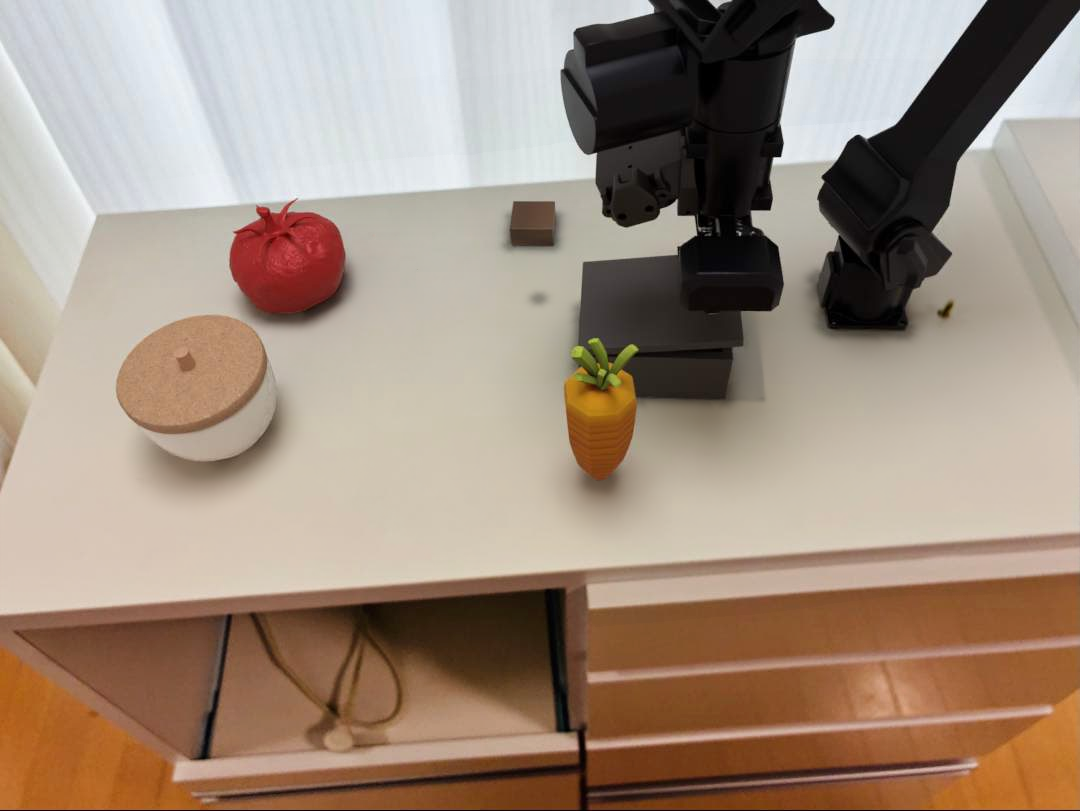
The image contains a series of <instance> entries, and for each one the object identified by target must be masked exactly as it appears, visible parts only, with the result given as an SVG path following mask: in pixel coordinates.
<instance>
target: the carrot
mask: <svg viewBox="0 0 1080 811" xmlns="http://www.w3.org/2000/svg"><path fill="white" fill-rule="evenodd" d="M588 344H589V345H590V347H591V349H592V351H593V352H594V354H595V356H596V357H597V359H598V362H599V363H598V364H597V363H596V361H595V359H594V358H593V357H592V355H591V354H590V353H589V352H588V351H587V350H586V349H585V348H584V347H581V346H578V345H577V346H574V347H573V349H572V351H571V358H572V360H574V362H575V363H577V364H578V366H579V365H581V367H580V368H579V367H578V369H577V370H576V371H575V372H574V373H573V374H572V375H570V376H569V377H568V378H567V379H566V380H565V382H564V384H563V392H564V393H563V394H564V404H565V416H566V426H567V433H568V441H569V445H570V449H571V451H572V454H573V456H574V458H575V461H576V464H577V465H578V466H579V467H580V469H582V472H584V473H586V474H587V475H588V476H590V477H591V478H592V479H594V480H595V481H604V480H605V479H607V478H609V477H610V476H611V474H612V473H613V472H614V471H616V470H617V468H618V467H619V466H620V464H622V462H623V461H624V459H625V457H626V455H627V453H628V450H629V449H630V445H631V444H632V440H633V436H634V431H635V425H636V417H637V409H638V407H637V406H638V401H637V397H636V395H635V389H634V383H633V378H632V376H631V375H630V374H628V373H626V372H625V371H623V370H621V369H622V368H623V367H624V366H625V364H626V363H627V362H628V361H629V360H630V358H631V357H632V356H633V355H634V354H635V353H636V352H637V351H638V350H639V349H638V348H637V347H636V346H635V345H633V344H631V345H629V346H628V347H626V348H625V349H624V350H623V351H622V352H621V353H620V354H619V355H618V357H617V359H616V360H615V362H614V364H612V363H608V358H607V353H606V351H605V349H604V347H603V345H602V343H601V341H600V340H599V338H594V339H591V340H589V341H588Z"/></svg>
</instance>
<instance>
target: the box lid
mask: <svg viewBox="0 0 1080 811" xmlns="http://www.w3.org/2000/svg"><path fill="white" fill-rule="evenodd" d="M709 235H710V233H709V234H706V235H704V236H709ZM580 288H581V289H580V307H579V325H578V341H577V346H581V347H584V348H585V349H586V350H587V351H588V352H589V353H590V354H591V355H595V354H594V352H593V351H592V349H591V347H590V345H589V344H588V341H589V340H591V339H594V338H599V340H600V341H601V343H602V345H603V347H604V349H605V351H606V353H607V354H620V353H621V352H622V351H623V350H624V349H625V348H626V347H628V346H629V345H631V344H633V345H635V346H636V347H637V348H638V349H639V350H638V351H637V352H636V353H642V352H660V351H678V350H695V349H713V348H731V347H732V348H743V347H744V346H745V336H744V327H743V316H742V311H720V312H719V313H705V312H704V311H687V310H686V309H685V308H683V307H682V306H680V305H679V291H678V254H669V255H657V256H656V255H655V256H644V257H642V256H641V257H629V258H618V259H603V260H591V261H590V260H589V261H583V262H582V271H581V287H580Z"/></svg>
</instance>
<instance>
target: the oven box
mask: <svg viewBox="0 0 1080 811" xmlns="http://www.w3.org/2000/svg"><path fill="white" fill-rule="evenodd" d="M618 355H619V354H607V358H608V363H612V364H614V362H615V360H616V359H617V357H618ZM592 357H593V358H594V359H595V361H596V363H597V364H598V363H599V362H598V359H597V357H596V356H595V355H592ZM733 362H734V353H733V347H731V348H713V349H695V350H678V351H660V352H642V353H635V354H634V355H633V356H632V357H631V358H630V360H629V361H628V362H627V363H626V364H625V366H624V367H623V368H622V369H621V370H623V371H625V372H626V373H628V374H630V375H631V376H632V378H633V383H634V389H635V395H636V398H668V399H669V398H670V399H671V398H674V399H675V398H677V399H712V400H713V399H716V400H717V399H718V400H719V399H720V400H725V399H726V396H727V391H728V387H729V382H730V378H731V372H732V368H733ZM580 367H581V365H579V364H578V369H579V368H580Z"/></svg>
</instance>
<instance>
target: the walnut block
mask: <svg viewBox="0 0 1080 811" xmlns="http://www.w3.org/2000/svg"><path fill="white" fill-rule="evenodd" d="M511 208H512V209H511V216H510V222H509V236H510V238H509V239H510V245H511V246H554V242H555V232H556V220H557V215H556V214H557V212H556V201H554V200H536V201H535V200H513V202H512V207H511Z"/></svg>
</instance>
